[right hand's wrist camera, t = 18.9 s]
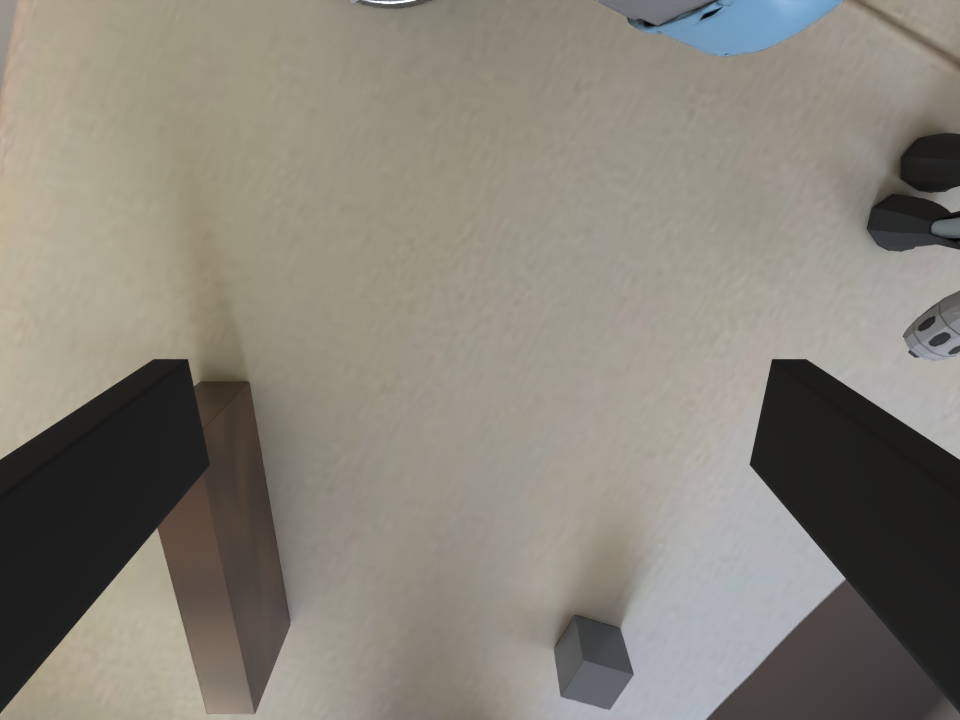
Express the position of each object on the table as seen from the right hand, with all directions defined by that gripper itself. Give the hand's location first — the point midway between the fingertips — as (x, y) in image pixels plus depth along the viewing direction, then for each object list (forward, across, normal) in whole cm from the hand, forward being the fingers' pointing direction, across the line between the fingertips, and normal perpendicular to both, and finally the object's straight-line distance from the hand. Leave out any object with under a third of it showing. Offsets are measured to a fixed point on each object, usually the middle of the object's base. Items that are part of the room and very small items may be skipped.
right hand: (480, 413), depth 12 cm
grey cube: (+29, +11, -40) cm, 50 cm away
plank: (+29, -20, -25) cm, 43 cm away
